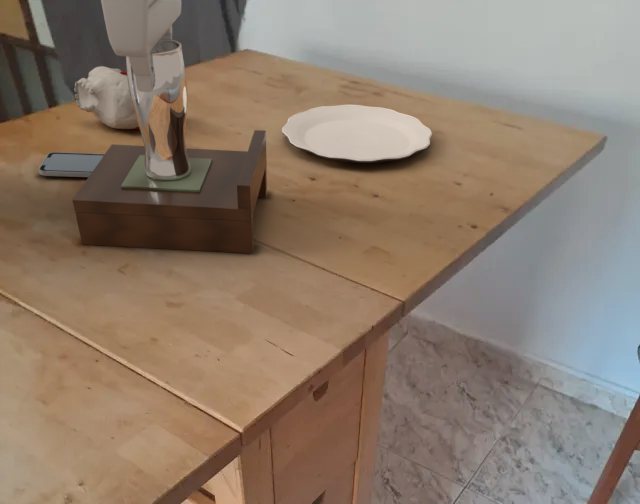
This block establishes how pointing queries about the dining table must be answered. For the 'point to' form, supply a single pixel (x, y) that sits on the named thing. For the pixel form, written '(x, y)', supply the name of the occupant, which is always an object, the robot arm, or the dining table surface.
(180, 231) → the shelf
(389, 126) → the plate
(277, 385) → the dining table surface
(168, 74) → the beer glass
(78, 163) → the smartphone
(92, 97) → the white irregular lump
